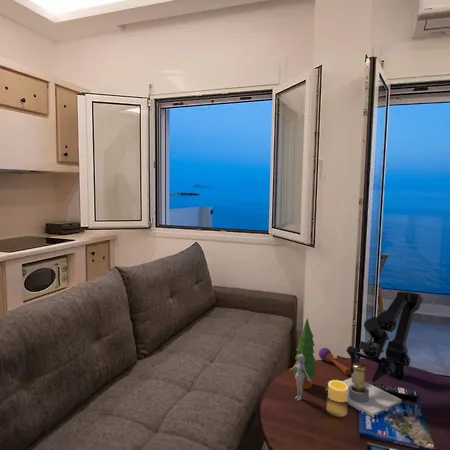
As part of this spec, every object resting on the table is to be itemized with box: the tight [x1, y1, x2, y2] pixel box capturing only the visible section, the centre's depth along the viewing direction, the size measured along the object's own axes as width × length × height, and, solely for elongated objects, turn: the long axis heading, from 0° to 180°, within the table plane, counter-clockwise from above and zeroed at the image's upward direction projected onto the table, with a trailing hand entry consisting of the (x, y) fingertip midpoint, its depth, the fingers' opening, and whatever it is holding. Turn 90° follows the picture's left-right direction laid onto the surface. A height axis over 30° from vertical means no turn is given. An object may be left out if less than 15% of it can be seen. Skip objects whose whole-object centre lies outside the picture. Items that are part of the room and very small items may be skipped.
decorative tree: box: [292, 317, 317, 390], centre depth 157 cm, size 10×9×30 cm
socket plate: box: [325, 372, 402, 416], centre depth 148 cm, size 18×22×5 cm
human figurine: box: [290, 354, 312, 401], centre depth 147 cm, size 12×4×18 cm, turn 28°
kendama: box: [318, 347, 351, 376], centre depth 176 cm, size 6×6×20 cm
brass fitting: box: [353, 362, 367, 393], centre depth 145 cm, size 5×5×13 cm
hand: (362, 377), depth 146 cm, fingers open, 9 cm apart
